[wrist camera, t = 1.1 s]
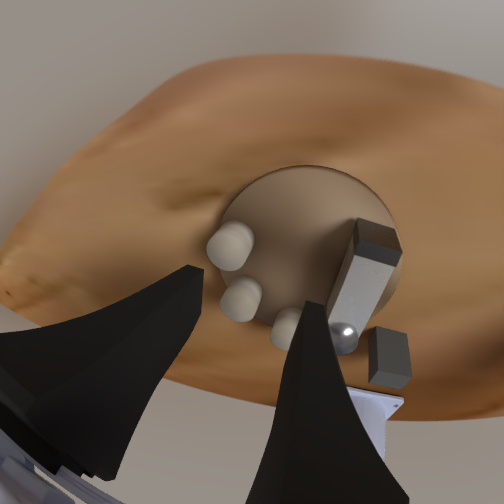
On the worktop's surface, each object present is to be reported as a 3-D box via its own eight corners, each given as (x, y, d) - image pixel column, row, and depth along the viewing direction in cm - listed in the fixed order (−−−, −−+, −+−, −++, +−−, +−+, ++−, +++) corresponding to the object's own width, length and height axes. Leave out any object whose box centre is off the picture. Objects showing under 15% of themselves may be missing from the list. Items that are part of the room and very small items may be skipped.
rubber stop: (398, 346, 20) (401, 389, 16) (368, 339, 20) (368, 383, 17) (406, 334, 19) (412, 377, 16) (376, 326, 19) (378, 370, 16)
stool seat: (360, 339, 20) (360, 371, 18) (215, 297, 22) (199, 324, 19) (426, 199, 14) (441, 220, 12) (234, 145, 16) (214, 156, 13)
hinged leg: (351, 327, 18) (349, 358, 16) (318, 318, 18) (313, 349, 16) (395, 229, 14) (404, 254, 12) (356, 216, 14) (358, 240, 12)
